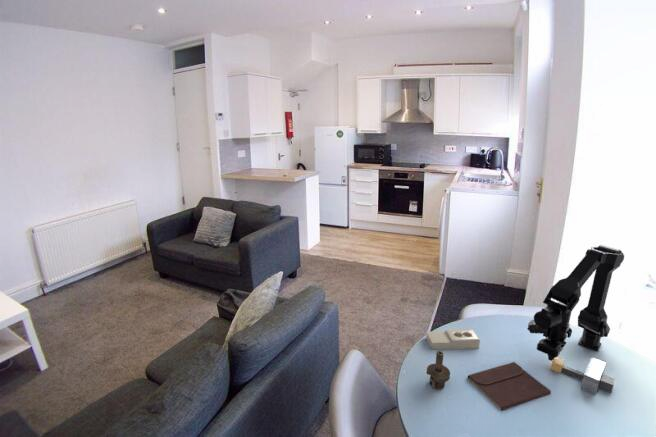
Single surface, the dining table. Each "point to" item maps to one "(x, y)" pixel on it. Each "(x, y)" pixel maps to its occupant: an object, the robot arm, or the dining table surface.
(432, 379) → the industrial component
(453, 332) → the electrical outlet
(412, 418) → the dining table surface
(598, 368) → the plate
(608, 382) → the plug
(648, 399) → the dining table surface
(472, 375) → the brown leather pouch
